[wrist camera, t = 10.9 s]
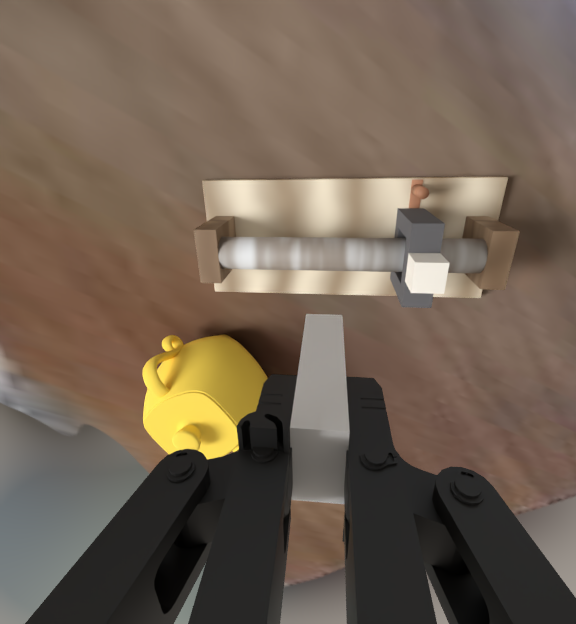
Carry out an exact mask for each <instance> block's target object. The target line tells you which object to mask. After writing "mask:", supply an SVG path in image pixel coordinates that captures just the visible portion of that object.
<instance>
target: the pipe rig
mask: <svg viewBox="0 0 576 624" xmlns="http://www.w3.org/2000/svg"><path fill="white" fill-rule="evenodd" d="M507 180H508V177H504V176H496V177H410V178H325V179H239V180H203V181H202V183H203V191H204V200H205V209H206V217H207V222H205V223H204V224H202V225H201V226H199V227H197V228H196V229H194V236H195V244H196V251H197V259H198V266H199V274H200V281H201V283H214V286H215V291H222V292H262V293H301V294H341V295H381V296H397V294H396V292H395V290H394V287H393V285H392V282H391V280H390V274H391V272H402V270H403V262H404V254H405V245H406V238H394V237H395V228H396V219H397V209H398V208H424V209H426V210H427V211H429V212H430V213H431V214H433V215H434V216H435V217H437V218H438V219H440V220H441V221H442V222H444V223H445V228H444V234H443V240H442V246H441V252H440V254H441V255H442V256H443V257H444V258H445V259H446V260H447V261H448V262H449V269H448V275H447V280H446V286H445V291H444V294H433V297H460V298H481V293H482V289H492V290H505V287H506V283H507V279H508V276H509V272H510V268H511V264H512V260H513V256H514V252H515V248H516V245H517V241H518V237H519V233H520V231H518V230H516V229H514V228H512V227H510V226H508V225H505V224H503V223H501V222H499V221H498V219H499V215H500V211H501V206H502V202H503V197H504V193H505V189H506V184H507Z"/></svg>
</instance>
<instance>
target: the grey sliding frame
mask: <svg viewBox="0 0 576 624" xmlns="http://www.w3.org/2000/svg"><path fill="white" fill-rule="evenodd" d="M444 228H445V223H444V222H442V221H441V220H440V219H438V218H437V217H435V216H434V215H433V214H431V213H430V212H429V211H427V210H426V209H424V208H398V209H397V219H396V228H395V237H394V238H406V245H405V254H404V262H403V270H402V272H391V274H390V280H391V282H392V285H393V287H394V290H395V292H396V294H397V297H398V299H399V302H400V304H401V307H418V308H431V306H432V300H433V294H444V291H445V286H446V280H447V275H448V269H449V262H448V261H447V260H446V259H445V258H444V257H443V256H442V255H441V254H440V252H441V246H442V240H443V234H444Z"/></svg>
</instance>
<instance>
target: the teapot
mask: <svg viewBox="0 0 576 624" xmlns="http://www.w3.org/2000/svg"><path fill="white" fill-rule="evenodd" d="M162 347H163V348H164V350H165V351H167V352H164V353H161V354H159V355H156V356H154V357H153V358H151V359H150V360H149V361H148V362H147V363H146V364H145V366H144V368H143V379H144V382H145V385H146V386H147V388H148V390H147V393H146V397H145V403H144V413H143V424H144V427H145V429H146V430H147V432H148V433H149V434H150V435H151V437H152V438H153V439H154V440H155V441H156V442H157V443H158V444H159V445H160V446H161V447H162V448H163V449H164V450H165V451H166V452H167V453H168V454H171V453H173V452H175V451H178V450H183V449H194V450H197V451H199V452H201V453H203V454H204V456H205V457H206V459H212V458H217V457H222V456H224V455H226V454H228V453H229V452H231V451H232V450H233V452H235V451H237V450H238V449H239V445H238V436H237V427H236V426H237V425H238V423H239V421H240V420H241V419H242V418H243V417H245V416H246V415H247V414H249V413H252V412H255V411H256V409H257V405H258V402H259V398H260V395H261V391H262V387H263V384H264V382H265V381H266V380H267V379H268V378H267V376H266V374H265V373H264V371H263V370H262V368H261V367H260V365H259V364H258V363H257V361H256V360H255V359H254V358H253V356H252V355H251V354H250V353H249V352H248V351H247V350H246V349H245V348H244V347H243V346H242V345H241V344H240V343H238V342H237V341H236V340H234V339H233V338H231V337H230V336H228V335H225V334H222V335H219V336H210V337H205V338H201V339H197V340H194V341H191V342H189V343H187V344H185V345H184V344H183V342H182V340H181V339H180V338H179V337H177V336H175V335H170V336H167V337H165V338H164V339H163V341H162ZM161 362H162V364H161V365H160V366H159V368H158V369H157V365H158V364H159V363H161Z"/></svg>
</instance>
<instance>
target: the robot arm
mask: <svg viewBox="0 0 576 624" xmlns="http://www.w3.org/2000/svg"><path fill="white" fill-rule="evenodd" d="M236 427H237V436H238V445H239V449H238V450H237V451H235V452H233V453H231V454H229V455H226V456H222V457H217V458H212V459H206V457H205V456H204V454H203V453H201V452H199V451H197V450H194V449H183V450H178V451H175V452H173V453H171V454H169V455H167V456H166V457H165V458H164V459H163V460H162V461H160V462H159V464H158V465H157V466H156V467H155V468H154V470H153V471H152V472H151V473H150V474H149V476H148V477H147V478H146V479H145V480H144V482H143V483H142V484H141V485H140V486H139V488H138V489H137V490H136V491H135V492H134V494H133V495H132V496H131V497H130V499H129V500H128V501H127V502H126V503H125V504H124V506H123V507H122V508H121V509H120V510H119V512H118V513H117V514H116V515H115V517H114V518H113V519H112V520H111V521H110V522H109V524H108V525H107V526H106V527H105V529H104V530H103V531H102V532H101V533H100V534H99V536H98V537H97V538H96V539H95V541H94V542H93V543H92V544H91V545H90V546H89V548H88V549H87V550H86V551H85V552H84V554H83V555H82V556H81V557H80V558H79V560H78V561H77V562H76V563H75V565H74V566H73V567H72V568H71V569H70V570H69V572H68V573H67V574H66V575H65V576H64V578H63V579H62V580H61V581H60V583H59V584H58V585H57V586H56V587H55V588H54V590H53V591H52V592H51V593H50V595H49V596H48V597H47V598H46V599H45V600H44V602H43V603H42V604H41V605H40V607H39V608H38V609H37V610H36V611H35V612H34V614H33V615H32V616H31V617H30V618H29V620H28V621H27V622H26V623H25V624H174V622H175V620H176V618H177V616H178V614H179V612H180V611H181V609H182V607H183V605H184V603H185V601H186V599H187V597H188V595H189V593H190V592H191V590H192V588H193V586H194V584H195V582H196V580H197V578H198V576H199V574H200V572H201V571H202V569H203V567H204V565H205V563H206V565H205V568H204V572H203V576H202V579H201V582H200V585H199V589H198V592H197V596H196V599H195V603H194V606H193V609H192V613H191V616H190V620H189V623H188V624H280V618H281V608H282V599H283V589H284V579H285V570H286V560H287V551H288V541H289V531H290V522H291V510H290V506H291V497H292V500H301V501H313V502H325V503H336V504H344V503H345V515H344V529H343V542H344V544H345V574H346V576H345V577H346V608H347V609H346V610H347V624H437V622H436V617H435V612H434V608H433V603H432V598H431V594H430V589H429V584H428V580H427V575H426V572H427V574H428V577H429V579H430V581H431V583H432V586H433V588H434V590H435V593H436V595H437V597H438V600H439V602H440V604H441V606H442V609H443V611H444V613H445V615H446V617H447V620H448V622H449V624H576V598H575V597H574V595H573V594H572V592H571V591H570V590H569V588H568V587H567V586H566V584H565V583H564V582H563V580H562V579H561V578H560V576H559V575H558V573H557V572H556V571H555V570H554V568H553V567H552V565H551V564H550V563H549V561H548V560H547V559H546V557H545V556H544V555H543V553H542V552H541V551H540V549H539V548H538V546H537V545H536V544H535V542H534V541H533V540H532V538H531V537H530V536H529V534H528V533H527V532H526V530H525V529H524V528H523V526H522V525H521V524H520V522H519V521H518V519H517V518H516V517H515V515H514V514H513V513H512V511H511V510H510V509H509V507H508V506H507V505H506V503H505V502H504V501H503V499H502V498H501V497H500V495H499V494H498V492H497V491H496V490H495V488H494V487H493V486H492V485H491V484H490V483H489V482H488V481H487V480H486V479H485V478H484V477H482V476H481V475H479V474H477V473H476V472H474V471H472V470H469V469H466V468H463V467H449V468H446V469H443V470H442V471H441V472H440V473H439V474H438V475H434V474H432V473H429V472H426V471H423V470H420V469H418V468H415V467H413V466H411V465H410V464H408V463H407V462H405V461H404V460H403V459H402V458H401V457H400V456H399V454H398V453H397V452H396V450H395V448H394V445H393V442H392V437H391V432H390V427H389V422H388V417H387V412H386V407H385V402H384V397H383V392H382V388H381V387H380V385H379V384H378V383H377V382H376V380H375V379H374V378H360V377H346V366H345V350H344V334H343V318H342V315H326V314H306V319H305V326H304V333H303V340H302V347H301V354H300V361H299V368H298V375H276V374H272V375H271V376H270V377H269V378H268V379H267V380H266V381H265V382H264V384H263V387H262V391H261V395H260V398H259V402H258V405H257V409H256V411H255V412H252V413H249V414H247V415H246V416H245V417H243V418H242V419H241V420H240V421H239V423H238V425H237V426H236ZM206 561H207V562H206ZM425 570H426V571H425Z"/></svg>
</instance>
